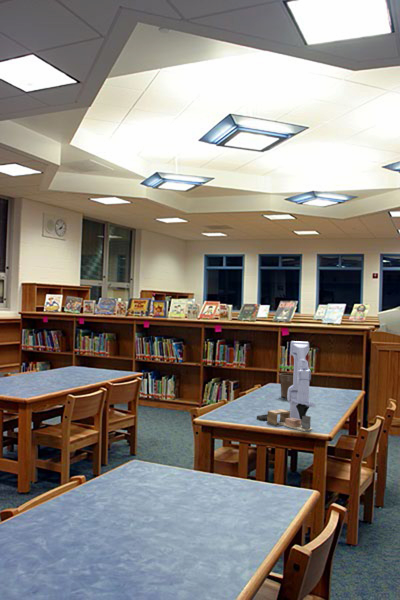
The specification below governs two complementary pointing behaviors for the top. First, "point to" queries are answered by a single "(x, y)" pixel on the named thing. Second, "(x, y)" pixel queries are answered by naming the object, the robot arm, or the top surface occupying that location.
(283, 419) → the tunnel
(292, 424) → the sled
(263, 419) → the tray
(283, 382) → the plant pot
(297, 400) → the robot arm
